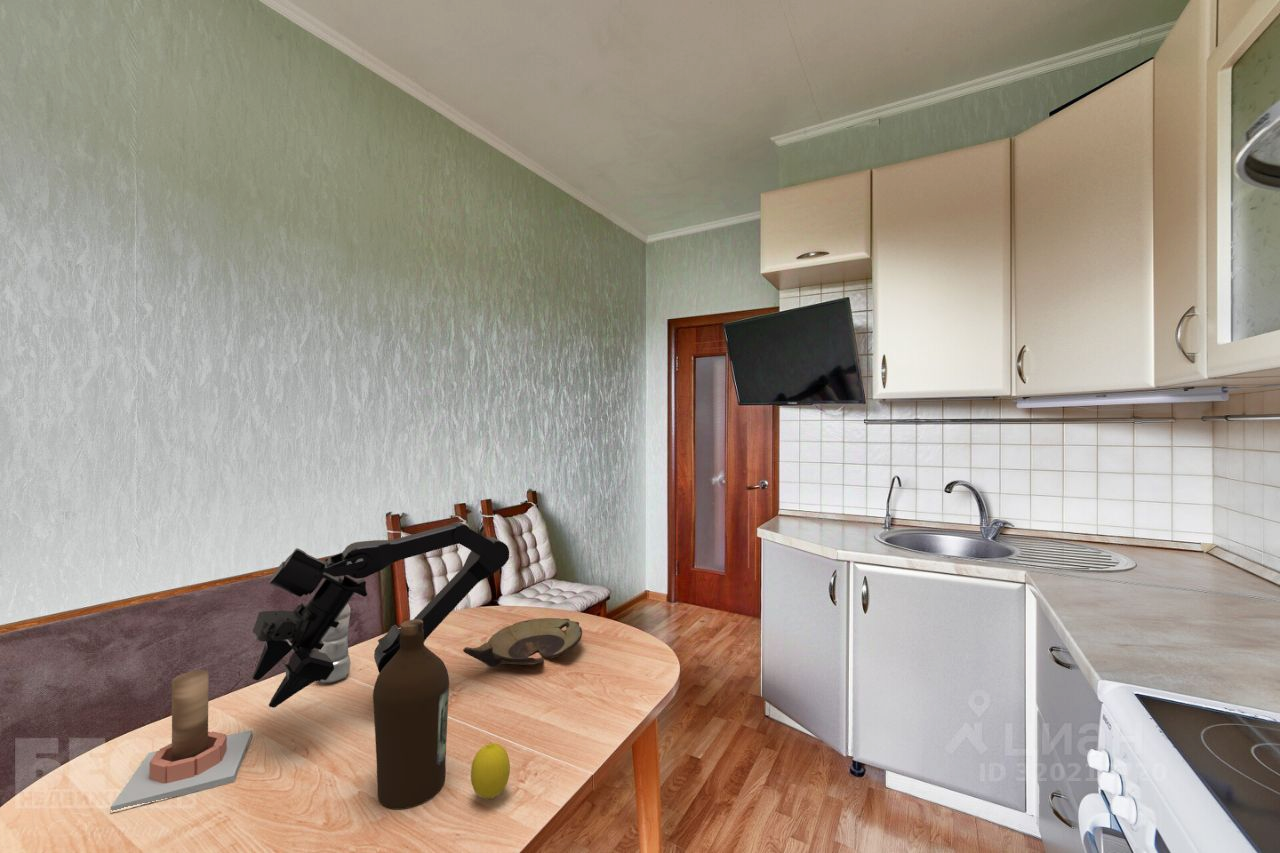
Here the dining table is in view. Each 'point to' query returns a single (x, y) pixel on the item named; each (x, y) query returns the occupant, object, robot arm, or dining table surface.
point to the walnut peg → (189, 714)
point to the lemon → (490, 770)
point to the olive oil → (411, 722)
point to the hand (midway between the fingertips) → (263, 692)
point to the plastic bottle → (338, 647)
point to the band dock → (185, 770)
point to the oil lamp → (528, 642)
